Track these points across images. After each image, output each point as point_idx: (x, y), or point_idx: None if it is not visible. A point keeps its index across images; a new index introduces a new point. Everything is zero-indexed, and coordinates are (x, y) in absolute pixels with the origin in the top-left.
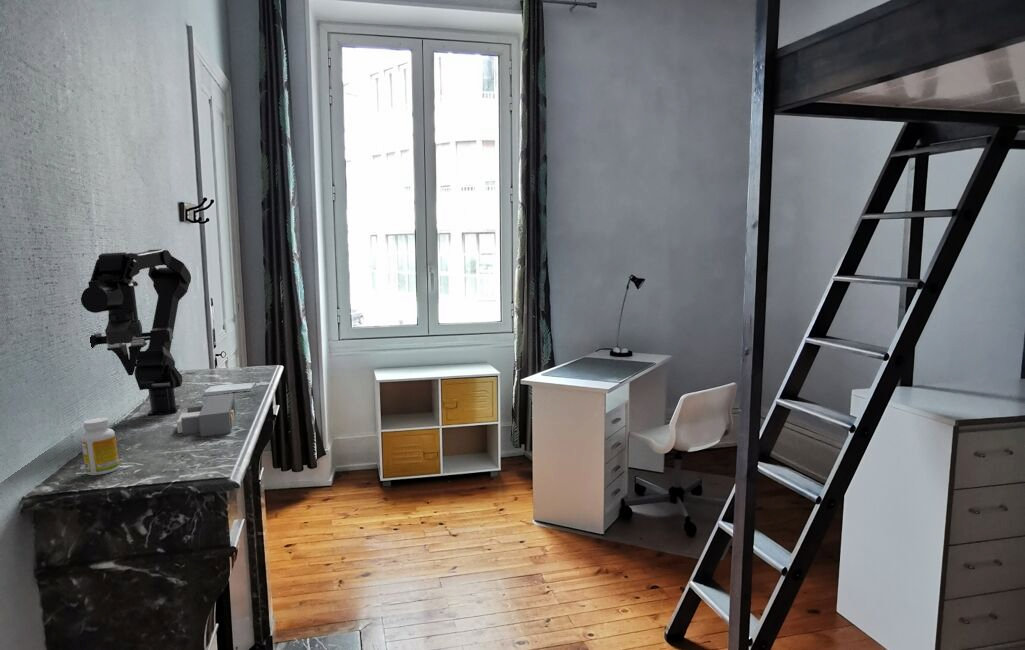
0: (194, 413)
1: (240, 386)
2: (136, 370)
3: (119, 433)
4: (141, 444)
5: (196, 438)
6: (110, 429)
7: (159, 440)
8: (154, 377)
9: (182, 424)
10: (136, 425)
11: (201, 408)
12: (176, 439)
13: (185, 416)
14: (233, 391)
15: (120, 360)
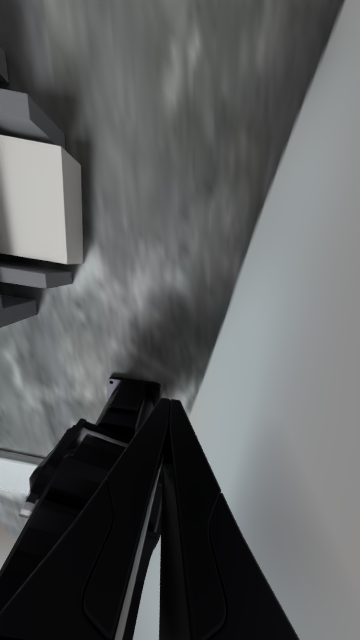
0: (30, 239)
1: (13, 474)
2: (156, 509)
3: (211, 270)
4: (163, 84)
5: (14, 34)
6: None
7: (119, 101)
8: (105, 452)
9: (41, 110)
10: (179, 321)
11: (13, 268)
12: (73, 73)
13: (47, 213)
14: (25, 458)
15: (236, 523)
